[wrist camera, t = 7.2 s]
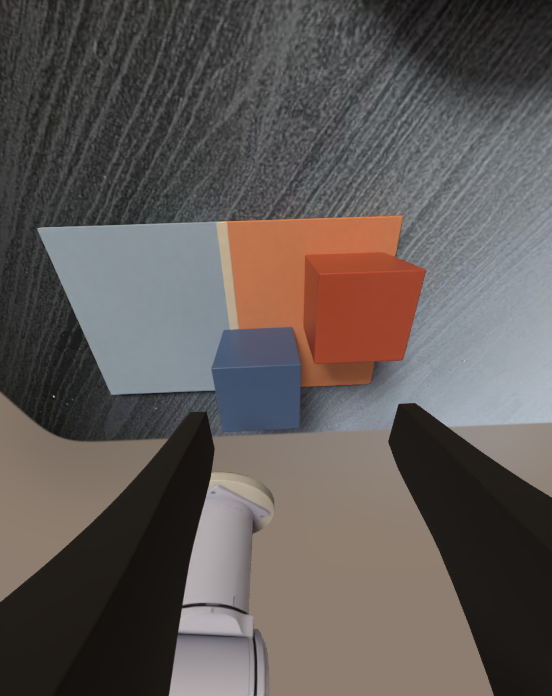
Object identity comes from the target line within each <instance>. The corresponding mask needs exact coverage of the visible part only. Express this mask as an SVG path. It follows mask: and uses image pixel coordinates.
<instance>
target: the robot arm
mask: <svg viewBox="0 0 552 696" xmlns="http://www.w3.org/2000/svg"><path fill="white" fill-rule="evenodd" d="M388 442H389V445H390V448H391V451H392V454H393V457H394V459H395V462H396V464H397V467H398V469H399V471H400V473H401V475H402V477H403V479H404V481H405V483H406V485H407V487H408V489H409V491H410V493H411V495H412V497H413V499H414V501H415V503H416V505H417V507H418V509H419V511H420V513H421V515H422V517H423V518H424V520H425V522H426V524H427V526H428V528H429V530H430V532H431V534H432V536H433V538H434V540H435V543H436V545H437V547H438V549H439V551H440V554H441V556H442V559H443V561H444V564H445V566H446V568H447V571H448V573H449V575H450V578H451V580H452V583H453V585H454V588H455V590H456V593H457V595H458V598H459V601H460V603H461V606H462V609H463V611H464V614H465V616H466V619H467V621H468V624H469V626H470V629H471V632H472V635H473V637H474V640H475V643H476V646H477V648H478V651H479V654H480V657H481V660H482V662H483V665H484V668H485V671H486V673H487V676H488V679H489V682H490V685H491V688H492V691H493V694H494V696H552V497H550V496H548V495H547V494H545V493H543V492H542V491H540V490H538V489H537V488H535V487H533V486H532V485H530V484H529V483H527V482H526V481H524V480H522V479H521V478H519V477H518V476H516V475H515V474H513V473H512V472H510V471H509V470H507V469H506V468H504V467H503V466H501V465H500V464H498V463H497V462H495V461H494V460H492V459H491V458H490V457H488V456H487V455H485V454H484V453H482V452H481V451H479V450H478V449H477V448H475V447H474V446H473V445H471V444H470V443H468V442H467V441H466V440H464V439H463V438H461V437H460V436H459V435H457V434H456V433H455V432H453V431H452V430H451V429H449V428H448V427H447V426H445V425H444V424H443V423H441V422H440V421H439V420H437V419H436V418H435V417H433V416H432V415H431V414H429V413H428V412H427V411H425V410H424V409H422V408H421V407H420V406H418V405H417V404H415V403H408V404H399V405H398V408H397V412H396V416H395V419H394V423H393V426H392V430H391V434H390V437H389V441H388ZM213 457H214V444H213V440H212V435H211V430H210V425H209V421H208V416H207V412H190V413H189V414H188V415H187V416H186V418H185V419H184V420H183V422H182V423H181V424H180V425H179V427H178V428H177V429H176V430H175V432H174V433H173V434H172V436H171V437H170V438H169V439H168V441H167V442H166V443H165V444H164V445H163V447H162V448H161V449H160V450H159V452H158V453H157V454H156V455H155V456H154V457H153V459H152V460H151V461H150V462H149V463H148V465H147V466H146V467H145V468H144V469H143V470H142V471H141V472H140V474H139V475H138V476H137V477H136V478H135V479H134V480H133V481H132V482H131V483H130V484H129V486H128V487H127V488H126V489H125V490H124V491H123V492H122V493H121V494H120V495H119V496H118V497H117V498H116V499H115V500H114V501H113V502H112V503H111V505H109V506H108V508H107V509H105V510H104V511H103V512H102V513H101V514H100V515H99V516H98V517H97V518H96V519H95V520H94V521H93V522H92V523H91V524H90V525H89V526H88V527H87V528H86V529H85V530H83V531H82V532H81V533H80V534H79V535H78V536H77V537H76V538H75V539H74V540H73V541H72V542H70V543H69V544H68V545H67V546H66V547H65V548H64V549H63V550H62V551H60V552H59V553H58V554H57V555H56V556H55V557H54V558H53V559H51V560H50V561H49V562H48V563H47V564H46V565H45V566H43V567H42V568H41V569H40V570H39V571H37V572H36V573H35V574H34V575H33V576H31V577H30V578H29V579H28V580H27V581H25V582H24V583H23V584H22V585H21V586H19V587H18V588H17V589H16V590H14V591H13V592H12V593H11V594H10V595H9V596H7V597H6V598H5V599H4V600H3V601H1V602H0V696H269V666H268V654H267V648H266V644H265V642H264V640H263V638H262V636H261V633H260V631H259V630H258V629H253V627H254V616H253V615H249V595H250V572H251V550H252V529H253V525H254V524H256V523H257V522H259V521H261V520H263V519H264V518H266V517H268V516H269V510H267V509H265V508H263V507H261V506H259V505H257V504H256V503H254V502H252V501H250V500H248V499H246V498H244V497H242V496H240V495H238V494H236V493H234V492H232V491H230V490H228V489H227V488H225V487H223V486H221V485H217V484H216V485H214V486H212V487H211V488H209V489H208V486H209V482H210V478H211V471H212V465H213Z"/></svg>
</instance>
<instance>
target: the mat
mask: <svg viewBox="0 0 552 696" xmlns="http://www.w3.org/2000/svg"><path fill="white" fill-rule="evenodd" d="M402 219H403V216H374V217H345V218H315V219H285V220H255V221H225V222H195V223H166V224H136V225H106V226H76V227H46V228H38V232H39V234H40V236H41V238H42V241H43V243H44V245H45V247H46V249H47V252H48V254H49V256H50V258H51V261H52V263H53V265H54V267H55V270H56V272H57V274H58V276H59V279H60V281H61V283H62V285H63V288H64V290H65V292H66V294H67V297H68V299H69V301H70V303H71V305H72V308H73V310H74V312H75V314H76V317H77V319H78V321H79V323H80V326H81V328H82V330H83V332H84V335H85V337H86V339H87V341H88V344H89V346H90V348H91V350H92V353H93V355H94V357H95V359H96V361H97V364H98V366H99V368H100V370H101V373H102V375H103V377H104V379H105V382H106V384H107V386H108V388H109V391H110V393H111V395H116V394H140V393H164V392H188V391H212V390H215V387H214V381H213V376H212V371H211V368H212V365H213V362H214V359H215V355H216V352H217V349H218V346H219V343H220V340H221V337H222V334H223V331H224V330H235V329H258V328H281V327H292V328H293V332H294V336H295V340H296V344H297V349H298V353H299V357H300V361H301V387H309V386H334V385H358V384H371V379H372V374H373V369H374V364H375V362H351V363H326V364H315V363H314V361H313V357H312V354H311V351H310V347H309V344H308V341H307V337H306V334H305V330H304V327H303V318H304V280H305V256H306V255H318V254H346V253H375V252H384V253H386V254H389V255H391V256H394V257H395V255H396V250H397V245H398V240H399V235H400V230H401V224H402Z"/></svg>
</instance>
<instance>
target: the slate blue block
mask: <svg viewBox="0 0 552 696" xmlns="http://www.w3.org/2000/svg"><path fill="white" fill-rule="evenodd" d="M211 371H212V376H213V381H214V387H215V392H216V398H217V403H218V408H219V414H220V419H221V424H222V430H223V432H238V431H257V430H276V429H295V428H300V395H301V361H300V357H299V353H298V349H297V344H296V340H295V336H294V332H293V328H292V327H281V328H258V329H235V330H224V331H223V334H222V337H221V340H220V343H219V346H218V349H217V352H216V355H215V359H214V362H213V365H212V368H211Z"/></svg>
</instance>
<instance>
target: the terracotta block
mask: <svg viewBox="0 0 552 696" xmlns="http://www.w3.org/2000/svg"><path fill="white" fill-rule="evenodd" d="M425 273H426V270H425V269H423V268H421V267H418V266H416V265H413V264H411V263H408V262H406V261H403V260H401V259H398V258H396V257H394V256H391V255H389V254H386V253H384V252H375V253H346V254H318V255H306V256H305V280H304V318H303V327H304V330H305V334H306V337H307V341H308V344H309V347H310V351H311V354H312V357H313V361H314V363H315V364H326V363H351V362H376V361H400V360H403V358H404V354H405V351H406V347H407V343H408V339H409V335H410V331H411V327H412V323H413V319H414V316H415V312H416V308H417V304H418V300H419V296H420V292H421V288H422V284H423V281H424V277H425Z"/></svg>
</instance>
